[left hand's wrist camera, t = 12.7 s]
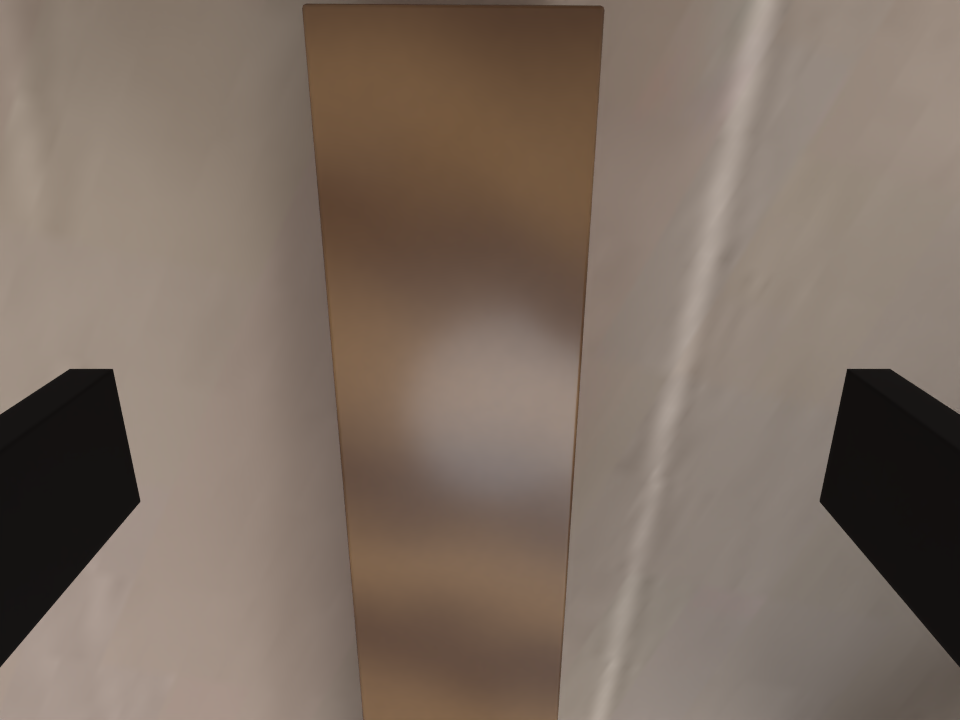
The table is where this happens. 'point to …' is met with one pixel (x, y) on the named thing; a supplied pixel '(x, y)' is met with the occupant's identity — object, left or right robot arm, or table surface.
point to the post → (456, 336)
